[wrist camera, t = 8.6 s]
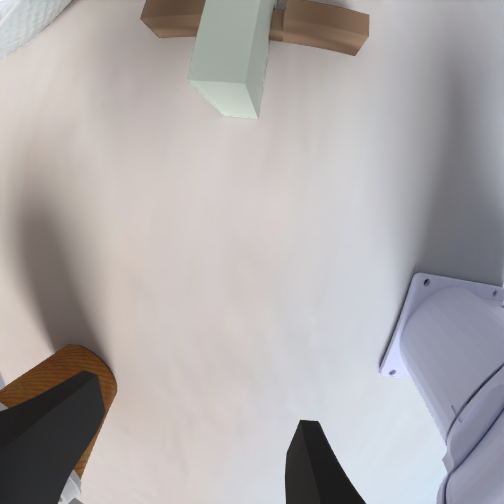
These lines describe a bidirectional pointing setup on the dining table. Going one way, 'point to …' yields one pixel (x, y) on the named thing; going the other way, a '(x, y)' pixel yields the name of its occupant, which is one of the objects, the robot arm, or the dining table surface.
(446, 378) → the robot arm
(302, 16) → the walnut slot board
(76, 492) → the disposable coffee cup
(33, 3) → the cereal bowl
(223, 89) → the sage slot plate
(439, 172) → the dining table surface
